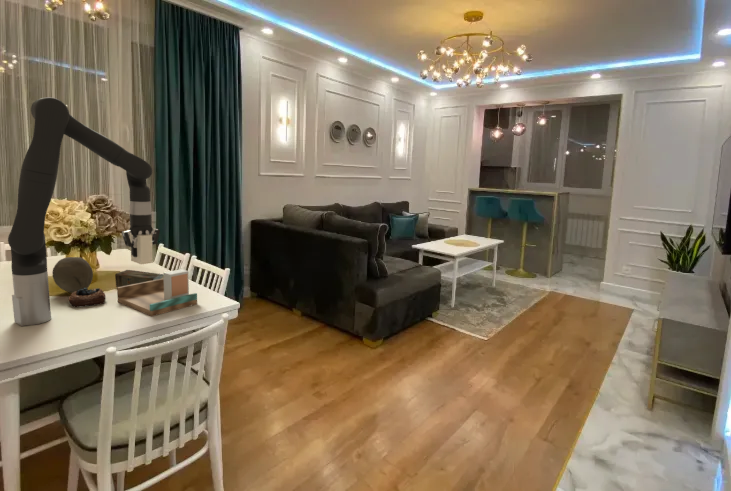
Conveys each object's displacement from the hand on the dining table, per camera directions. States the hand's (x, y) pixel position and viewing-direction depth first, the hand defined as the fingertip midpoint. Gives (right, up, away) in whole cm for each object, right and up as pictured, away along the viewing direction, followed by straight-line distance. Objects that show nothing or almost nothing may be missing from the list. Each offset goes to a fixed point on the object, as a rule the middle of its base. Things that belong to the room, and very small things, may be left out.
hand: (142, 255), depth 162 cm
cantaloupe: (-34, -16, +10) cm, 39 cm away
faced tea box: (+11, -17, +5) cm, 21 cm away
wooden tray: (+4, -19, +4) cm, 20 cm away
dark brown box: (-13, -15, +24) cm, 31 cm away
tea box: (0, -2, 0) cm, 2 cm away
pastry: (-21, -19, 0) cm, 28 cm away
